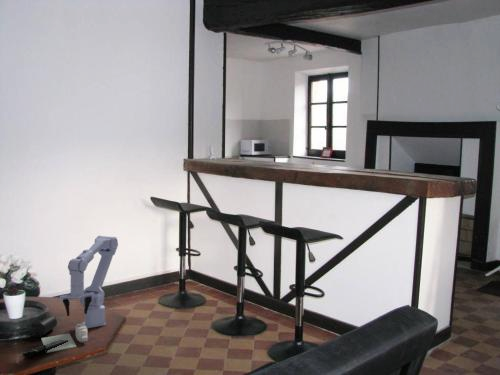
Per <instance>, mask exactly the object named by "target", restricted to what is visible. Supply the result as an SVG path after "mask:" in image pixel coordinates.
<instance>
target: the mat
mask: <svg viewBox="0 0 500 375" xmlns="http://www.w3.org/2000/svg"><path fill="white" fill-rule="evenodd" d="M40 338H41V342H42V344H43V346H44V345H47V344H50V343H52V342H55V341H59V340H68V342H66V343H64V344H62V345H59V346H57V347H55V348H52V349H50V350H48V351H47V352H46V353H52V352H58V351H64V350H69V349H75V348H77V345H76V343H75V341H74V339H73V337H72V336H71V334H70V333H65V334H64V333H63V334H62V333H61V334H57V335H52V336H48V337H47V336H46V337H40Z"/></svg>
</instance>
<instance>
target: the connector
mask: <svg viewBox="0 0 500 375" xmlns="http://www.w3.org/2000/svg"><path fill="white" fill-rule="evenodd" d="M74 329H75V339H76V340H77V342H78V341H79V342H78V343H86V342H88V340H89V336H88V328H86V326H85V325H84V324H83V323H77V324H75V328H74ZM85 341H86V342H85Z"/></svg>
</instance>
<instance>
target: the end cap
mask: <svg viewBox="0 0 500 375" xmlns="http://www.w3.org/2000/svg"><path fill="white" fill-rule="evenodd" d="M57 324H58V320H57V318H56V317H55V316H53V315H49V316H41V317H39V318H38V320H34V321H32V322H31V328H36V329H31V334H32V337H37V338H43V336H44V335H46V334H48V333H49V332H50V331H52V330H53V329H54V328H56V326H57ZM34 333H35V334H34Z"/></svg>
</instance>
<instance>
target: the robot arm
mask: <svg viewBox="0 0 500 375" xmlns="http://www.w3.org/2000/svg"><path fill="white" fill-rule="evenodd" d="M118 246H119V243H118V239H117V237H116V236H106V235H105V236H104V235H98V236H96V237H95V238H94V243H93V244H92V245H91V246H90V247H89V249H84V250H83V251H82V252H81V253H80V254H79V255H77V256H76V257H75V258H72V259H70V260H69V261H68V265H67V270H68V272H69V276H70V293H69V294H63V295H59V301H60V302H62V303H63V306H64V307H65V310H66V316H67V317H70V301H71V300H78V299H79V302H80V304H81V306H82V308H84V309H83V310H84V311H83V312H84V313H83V314H84V321H83V322H81V324H84V325H85V326H86V328H87V329H90V328H91V329H92V328H97V327H102V326H103V327H104V326H106V324H107V323H106V307H105V305H104V301H105V294H106V293H105V291H104V290H103V289H102V287H103V285H104V283H105V279H106V277H107V274H108V271H109V269H110V265H111V263H112V260H113V256H115V255H116V251H117V249H118ZM97 253H98V254H99V255H100V256H101V257H100V259H99V262H98V264H97V268H96V270H95V274H94V275H93V279H92V281H91V283H90V286H87V287H85V271H86V270H87V267H88V266H89V264H90V263H91V261H92V260H93V259H94V257H95V254H97Z"/></svg>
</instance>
